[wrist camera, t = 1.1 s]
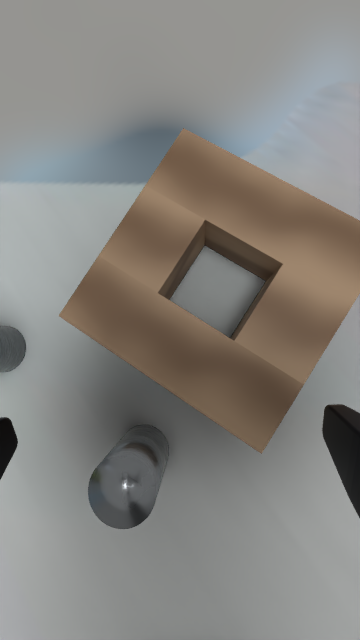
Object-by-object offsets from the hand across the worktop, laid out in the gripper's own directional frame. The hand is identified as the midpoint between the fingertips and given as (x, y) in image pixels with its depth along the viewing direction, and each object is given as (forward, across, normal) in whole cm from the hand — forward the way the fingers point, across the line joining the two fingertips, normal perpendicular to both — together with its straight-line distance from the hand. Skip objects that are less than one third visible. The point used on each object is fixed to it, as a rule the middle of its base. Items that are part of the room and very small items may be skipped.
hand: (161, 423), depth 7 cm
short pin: (+10, +4, +11) cm, 16 cm away
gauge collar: (+15, -3, 0) cm, 16 cm away
